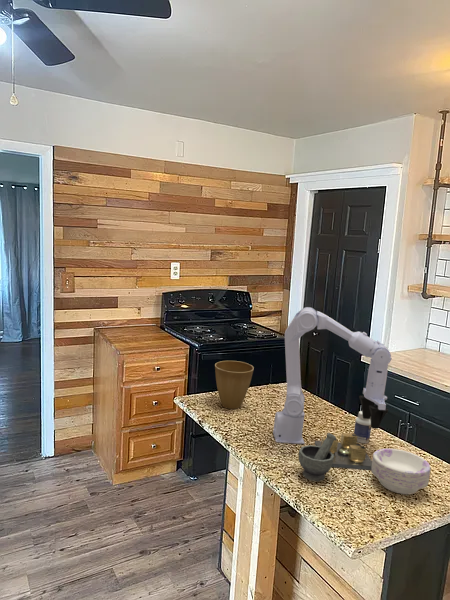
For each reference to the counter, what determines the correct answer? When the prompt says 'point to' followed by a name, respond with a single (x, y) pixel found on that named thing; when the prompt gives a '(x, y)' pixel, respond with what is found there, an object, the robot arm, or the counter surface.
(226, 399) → the plant pot
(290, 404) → the robot arm
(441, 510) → the counter surface
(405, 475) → the paper bowls
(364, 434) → the pill bottle
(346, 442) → the knob far
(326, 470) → the mortar and pestle
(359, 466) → the base plate
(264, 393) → the counter surface
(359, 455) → the knob near
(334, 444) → the knob left
